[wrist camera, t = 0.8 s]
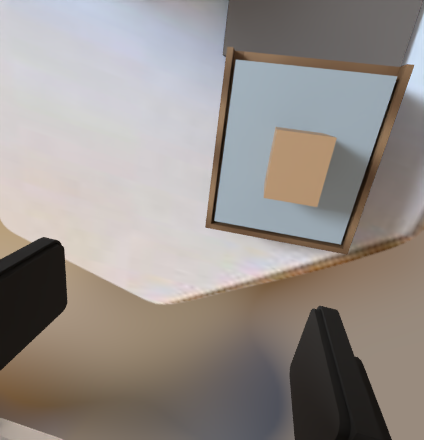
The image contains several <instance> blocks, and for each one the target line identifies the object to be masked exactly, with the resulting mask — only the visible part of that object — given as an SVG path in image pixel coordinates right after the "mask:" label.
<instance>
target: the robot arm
mask: <svg viewBox="0 0 424 440" xmlns="http://www.w3.org/2000/svg"><path fill="white" fill-rule="evenodd" d="M66 305H67V289H66V271H65V254H64V247H63V246H62V245H61V243H60V241H58V240H54V239H50V238H46V237H43V238H40V239H38V240H36V241H34V242H32V243H30V244H29V245H27V246H25V247H23V248H21V249H19V250H17V251H16V252H14V253H12V254H10V255H8V256H6V257H4V258H2V259H0V370H2V369H3V368H4V367H5V366H6V365H7V364H8V363H9V362H10V361H11V360H12V359H13V358H14V357H15V356H16V355H17V354H18V353H20V352H21V351H22V350H23V349H24V348H25V347H26V346H27V345H28V344H29V343H30V342H31V341H32V340H33V339H34V338H35V337H36V336H37V335H39V334H40V333H41V332H42V331H43V330H44V329H45V328H46V327H47V326H48V325H49V324H50V323H51V322H52V321H53V320H54V319H55V318H56V317H58V315H60V314H61V313H62V312H63V310H64V309H65V308H66ZM290 385H291V398H292V411H293V423H294V435H295V440H392V439H391V436H390V434H389V431H388V429H387V426H386V423H385V421H384V418H383V416H382V413H381V410H380V408H379V405H378V402H377V400H376V397H375V395H374V392H373V389H372V387H371V384H370V381H369V379H368V376H367V373H366V371H365V368H364V366H363V364H362V361H361V360H360V359H359V358H358V357H354V354H353V351H352V348H351V346H350V343H349V340H348V337H347V334H346V332H345V329H344V326H343V323H342V320H341V318H340V315H339V312H338V311H337V310H335V309H331V308H327V307H323V306H319V307H318V308H317V309H312V310H311V312H310V315H309V317H308V320H307V323H306V325H305V328H304V331H303V333H302V336H301V339H300V341H299V344H298V347H297V349H296V352H295V355H294V357H293V360H292V363H291V366H290ZM0 440H63V439H61V438H57V437H55V436H52V435H49V434H46V433H43V432H40V431H37V430H34V429H32V428H28V427H26V426H23V425H19V424H17V423H14V422H11V421H8V420H5V419H2V418H0Z"/></svg>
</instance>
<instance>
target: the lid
mask: <svg viewBox="0 0 424 440" xmlns="http://www.w3.org/2000/svg"><path fill="white" fill-rule="evenodd" d="M396 79H397V76H389V75H379V74H370V73H360V72H350V71H341V70H331V69H322V68H312V67H303V66H293V65H283V64H274V63H264V62H255V61H245V60H236V62H235V70H234V77H233V85H232V92H231V100H230V107H229V115H228V122H227V130H226V137H225V145H224V152H223V160H222V167H221V175H220V182H219V189H218V197H217V204H216V212H215V219H214V221H217V222H222V223H228V224H233V225H239V226H244V227H249V228H255V229H260V230H265V231H271V232H276V233H281V234H287V235H292V236H298V237H303V238H308V239H314V240H319V241H324V242H330V243H335V244H340V245H341V242H342V239H343V236H344V233H345V230H346V227H347V224H348V221H349V218H350V215H351V212H352V209H353V206H354V203H355V200H356V198H357V195H358V192H359V189H360V186H361V183H362V180H363V177H364V174H365V171H366V168H367V165H368V162H369V159H370V156H371V153H372V150H373V147H374V144H375V141H376V138H377V135H378V132H379V130H380V127H381V124H382V121H383V118H384V115H385V112H386V109H387V106H388V103H389V100H390V97H391V94H392V91H393V88H394V85H395V82H396Z"/></svg>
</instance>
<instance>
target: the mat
mask: <svg viewBox="0 0 424 440" xmlns="http://www.w3.org/2000/svg"><path fill="white" fill-rule="evenodd" d="M422 2H423V0H229V5H228V14H227V22H226V31H225V39H224V48H223V56H226V53H227V47H234V49H235V51H245V52H255V53H265V54H275V55H285V56H295V57H305V58H315V59H325V60H335V61H345V62H355V63H365V64H375V65H385V66H395V67H401V64H402V61H403V58H404V56H405V53H406V50H407V47H408V44H409V41H410V38H411V35H412V32H413V29H414V26H415V23H416V20H417V17H418V14H419V11H420V8H421V5H422Z"/></svg>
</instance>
